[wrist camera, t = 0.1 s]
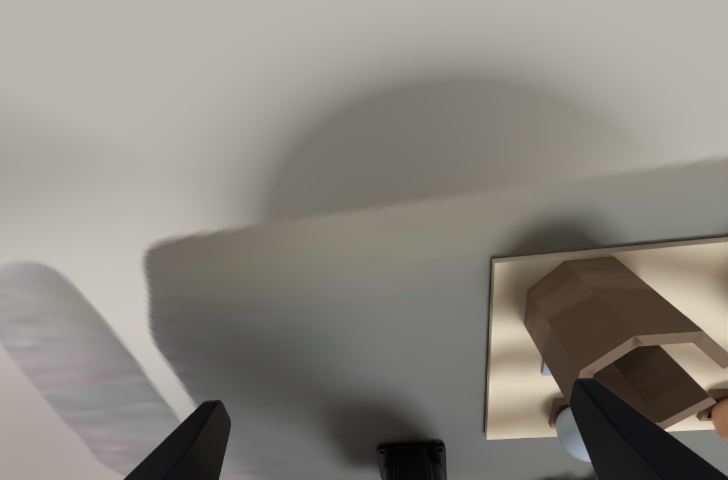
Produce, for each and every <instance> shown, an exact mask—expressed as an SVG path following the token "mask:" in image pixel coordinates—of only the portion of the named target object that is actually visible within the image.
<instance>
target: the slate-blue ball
mask: <svg viewBox="0 0 728 480" xmlns="http://www.w3.org/2000/svg"><path fill="white" fill-rule="evenodd" d="M556 433H557V436H558V438H559V441H560V442H561V444H562V445H563V447H564V448H565V449H566V450H567V451H568V452H569V453H570V454H571V455H573V456H574V457H576V458H578V459H580V460H582V461H585V462H591V460H590V458H589V455H588V453H587V450H586V447H585V445H584V442H583V440H582V437H581V435H580V432H579V430H578V427H577V425H576V422H575V420H574V417H573V414H572V412H571V409H570V407H567V408H565V409H564V410H562V411H561V413H560V414H559V415H558V417H557V421H556Z"/></svg>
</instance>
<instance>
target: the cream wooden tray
mask: <svg viewBox="0 0 728 480" xmlns="http://www.w3.org/2000/svg"><path fill="white" fill-rule="evenodd" d="M577 378H594V379H596V380H597V381H599V382H600V383H602V384H603V385H604V386H606V387H607V388H608V389H610V390H611V391H612V392H614V393H615V394H616V395H618V396H619V397H620V398H622V399H623V400H624V401H626V402H627V403H629V404H630V405H631V406H633V407H634V408H635V409H637V410H638V411H639V412H641V413H642V414H643V415H645V416H646V417H647V418H649V419H650V420H652V421H653V422H654V423H656V424H657V425H658V426H660V427H661V428H662V429H664V430H665V431H688V430H710V429H715V428H714V425H713V423H712V418H711V414H712V410H713V407H714V406H715V405H716V403H718V402H719V401H720V400H722V399H725V398H728V237H721V238H710V239H699V240H689V241H678V242H667V243H656V244H646V245H635V246H624V247H613V248H603V249H592V250H581V251H570V252H560V253H549V254H538V255H527V256H517V257H506V258H495V259H492V278H491V301H490V324H489V347H488V370H487V394H486V417H485V436H486V439H487V440H490V439H512V438H534V437H556V436H557V433H556V421H557V417H558V415H559V414H560V413H561V411H562V410H564V409H565V408H567V407H570V403H569V401H570V395H571V390H572V386H573V382H574V380H575V379H577Z"/></svg>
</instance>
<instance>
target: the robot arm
mask: <svg viewBox="0 0 728 480" xmlns="http://www.w3.org/2000/svg"><path fill="white" fill-rule="evenodd" d="M569 403H570V409H571V412H572V414H573V417H574V420H575V422H576V425H577V427H578V430H579V432H580V435H581V437H582V440H583V442H584V445H585V447H586V450H587V453H588V455H589V458H590V460H591V463H592V465H593V468H594V470H595V473H596V475H597V477H598V480H728V477H727V476H726V475H724V474H723V473H722V472H720V471H719V470H718V469H716V468H715V467H714V466H712V465H711V464H710V463H708V462H707V461H706V460H704V459H703V458H701V457H700V456H699V455H697V454H696V453H695V452H693V451H692V450H691V449H689V448H688V447H687V446H685V445H684V444H683V443H681V442H680V441H679V440H677V439H676V438H674V437H673V436H672V435H670V434H669V433H668V432H666V431H665V430H664V429H662V428H661V427H660V426H658V425H657V424H656V423H654V422H653V421H652V420H650V419H649V418H647V417H646V416H645V415H643V414H642V413H641V412H639V411H638V410H637V409H635V408H634V407H633V406H631V405H630V404H629V403H627V402H626V401H624V400H623V399H622V398H620V397H619V396H618V395H616V394H615V393H614V392H612V391H611V390H610V389H608V388H607V387H606V386H604V385H603V384H602V383H600V382H599V381H597V380H596V379H594V378H577V379H575V380H574V382H573V386H572V390H571V395H570V401H569ZM230 428H231V421H230V417H229V415H228V413H227V411H226V409H225V407H224V405H223V403H222V402H221V401H220V400H210V401H205V402H203V403H202V404H201V405H200V406H199V407H198V408H197V409H196V410H195V411H194V412H193V413H192V414H191V415H190V416H189V417H188V418H187V419H185V420H184V421H183V422H182V423H181V424H180V425H179V426H178V427H177V428H176V429H175V430H174V431H173V432H172V433H171V434H170V435H169V436H168V437H167V438H166V439H165V440H164V441H163V442H162V443H161V444H160V445H159V446H158V447H157V448H156V449H155V450H154V451H152V452H151V453H150V454H149V455H148V456H147V457H146V458H145V459H144V460H143V461H142V462H141V463H140V464H139V465H138V466H137V467H136V468H135V469H134V470H133V471H132V472H131V473H130V474H129V475H128V476H127V477H126V478H125V479H124V480H219V477H220V472H221V468H222V464H223V459H224V455H225V451H226V446H227V442H228V437H229V433H230ZM377 455H378V460H379V466H380V471H381V476H382V480H447V474H446V450H445V445H444V444H443V443H418V444H396V445H380V446H378V447H377Z"/></svg>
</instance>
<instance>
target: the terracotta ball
mask: <svg viewBox="0 0 728 480" xmlns="http://www.w3.org/2000/svg"><path fill="white" fill-rule="evenodd" d="M711 418H712V423H713V425H714V428H715V429H716V431H717V432H718V434H719V435H720V436H721V437H722V438H723V439H724V440H725V441H726V442H727V443H728V398H725V399H722V400H720V401H719V402H718V403H716V405H715V406H714V407H713V410H712V414H711Z"/></svg>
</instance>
